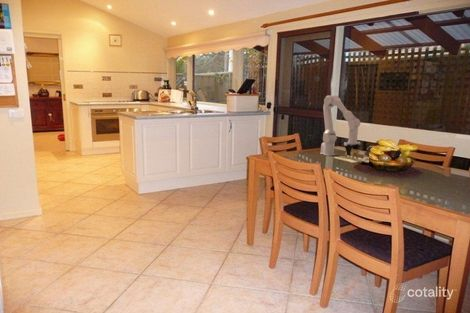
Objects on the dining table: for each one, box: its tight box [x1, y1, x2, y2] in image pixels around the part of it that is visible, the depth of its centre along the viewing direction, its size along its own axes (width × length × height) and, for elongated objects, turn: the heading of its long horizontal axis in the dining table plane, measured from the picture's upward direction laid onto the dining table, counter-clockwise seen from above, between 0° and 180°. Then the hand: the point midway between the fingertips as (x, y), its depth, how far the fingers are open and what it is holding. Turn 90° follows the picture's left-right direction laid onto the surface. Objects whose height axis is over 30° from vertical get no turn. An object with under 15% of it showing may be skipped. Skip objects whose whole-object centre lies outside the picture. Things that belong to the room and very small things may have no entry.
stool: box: [344, 148, 360, 159], centre depth 248 cm, size 8×5×6 cm, turn 26°
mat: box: [333, 155, 363, 164], centre depth 249 cm, size 18×16×1 cm
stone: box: [360, 145, 376, 164], centre depth 235 cm, size 14×10×15 cm
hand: (351, 155), depth 249 cm, fingers closed on stool, 5 cm apart
